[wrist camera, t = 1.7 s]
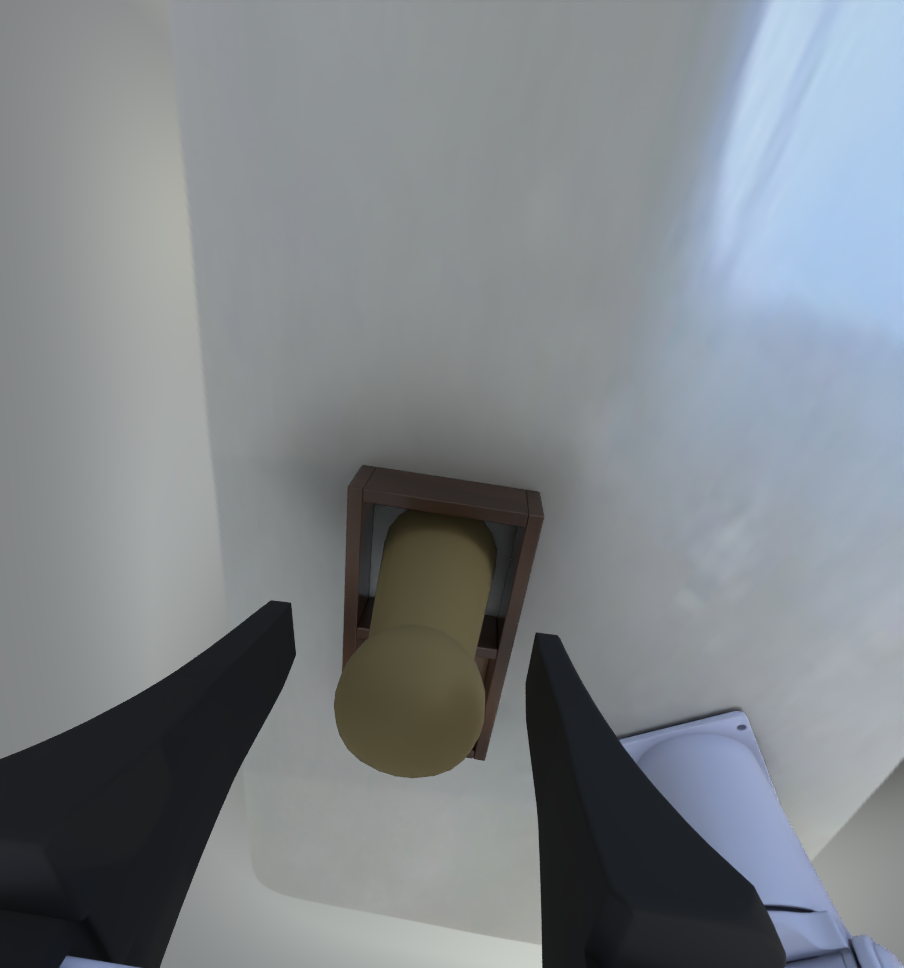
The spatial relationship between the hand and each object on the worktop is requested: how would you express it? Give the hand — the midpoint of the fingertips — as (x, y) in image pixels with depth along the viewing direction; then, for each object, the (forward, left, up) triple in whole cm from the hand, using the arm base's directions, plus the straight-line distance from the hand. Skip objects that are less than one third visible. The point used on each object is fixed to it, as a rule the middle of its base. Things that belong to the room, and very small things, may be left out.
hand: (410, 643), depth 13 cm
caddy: (-6, +4, -10) cm, 13 cm away
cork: (-3, +2, -10) cm, 11 cm away
